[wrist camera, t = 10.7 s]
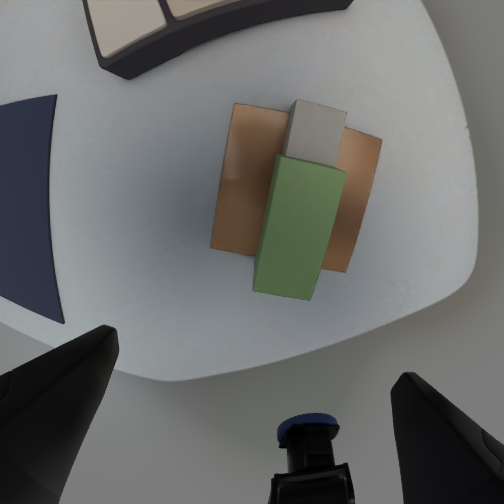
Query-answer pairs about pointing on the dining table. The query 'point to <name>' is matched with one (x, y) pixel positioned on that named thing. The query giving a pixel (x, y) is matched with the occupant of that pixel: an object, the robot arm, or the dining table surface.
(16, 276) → the napkin
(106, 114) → the dining table surface
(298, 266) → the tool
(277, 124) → the coaster
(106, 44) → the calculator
